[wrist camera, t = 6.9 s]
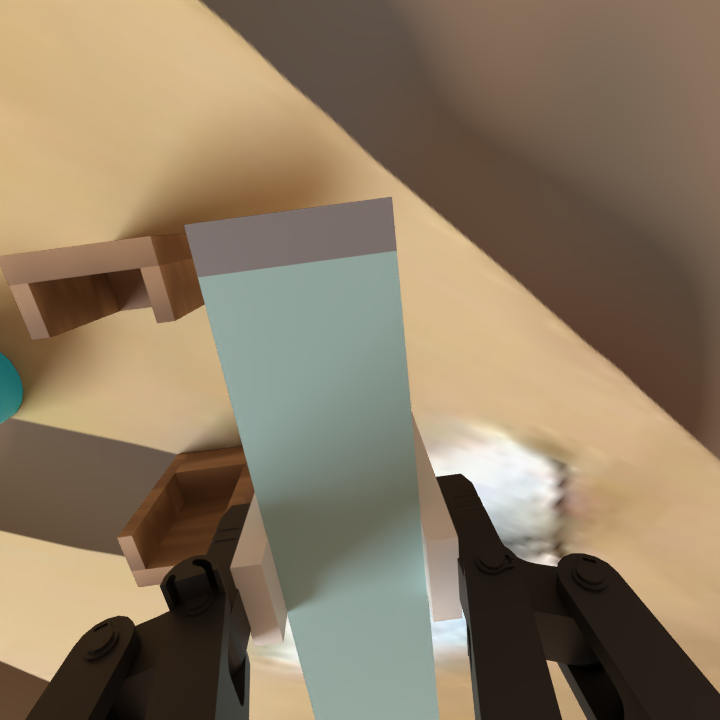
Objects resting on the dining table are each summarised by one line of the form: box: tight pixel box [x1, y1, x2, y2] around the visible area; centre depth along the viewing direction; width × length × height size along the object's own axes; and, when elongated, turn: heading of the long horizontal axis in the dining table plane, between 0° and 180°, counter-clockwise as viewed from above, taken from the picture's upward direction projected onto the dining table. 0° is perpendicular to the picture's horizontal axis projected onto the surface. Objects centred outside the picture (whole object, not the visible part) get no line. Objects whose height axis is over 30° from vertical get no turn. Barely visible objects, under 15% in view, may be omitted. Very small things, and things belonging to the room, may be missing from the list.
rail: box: [184, 197, 439, 720], centre depth 13 cm, size 18×4×6 cm, turn 7°
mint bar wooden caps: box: [0, 234, 255, 587], centre depth 28 cm, size 23×8×10 cm, turn 7°
